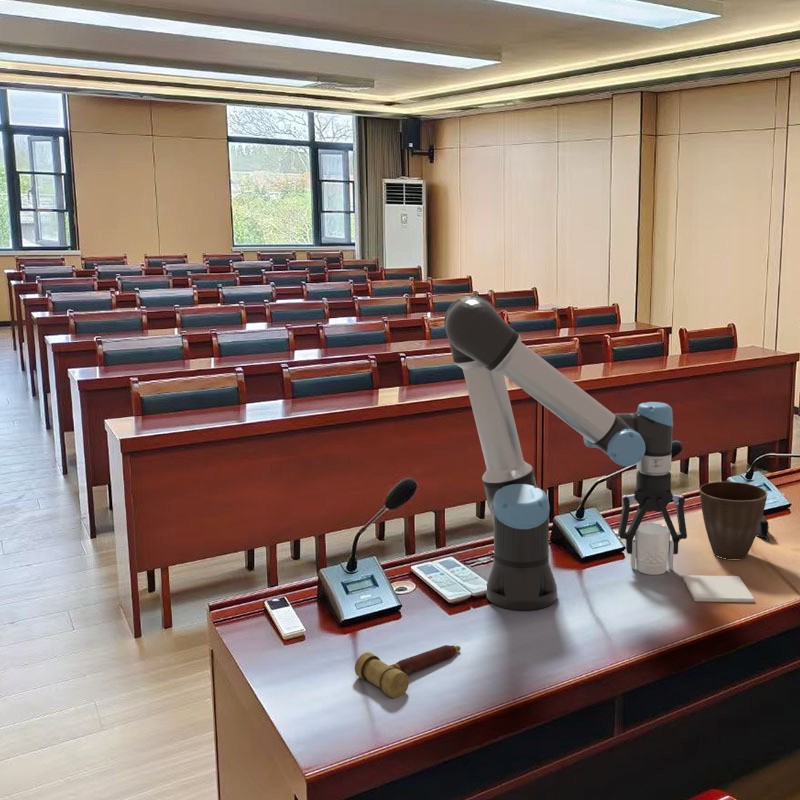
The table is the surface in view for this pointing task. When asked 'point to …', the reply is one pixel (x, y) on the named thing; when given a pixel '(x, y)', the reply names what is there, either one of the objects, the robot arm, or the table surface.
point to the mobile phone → (763, 529)
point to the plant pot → (732, 516)
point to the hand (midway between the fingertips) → (651, 566)
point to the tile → (717, 588)
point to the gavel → (399, 668)
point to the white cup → (652, 548)
